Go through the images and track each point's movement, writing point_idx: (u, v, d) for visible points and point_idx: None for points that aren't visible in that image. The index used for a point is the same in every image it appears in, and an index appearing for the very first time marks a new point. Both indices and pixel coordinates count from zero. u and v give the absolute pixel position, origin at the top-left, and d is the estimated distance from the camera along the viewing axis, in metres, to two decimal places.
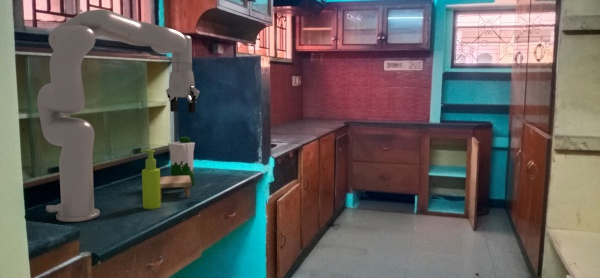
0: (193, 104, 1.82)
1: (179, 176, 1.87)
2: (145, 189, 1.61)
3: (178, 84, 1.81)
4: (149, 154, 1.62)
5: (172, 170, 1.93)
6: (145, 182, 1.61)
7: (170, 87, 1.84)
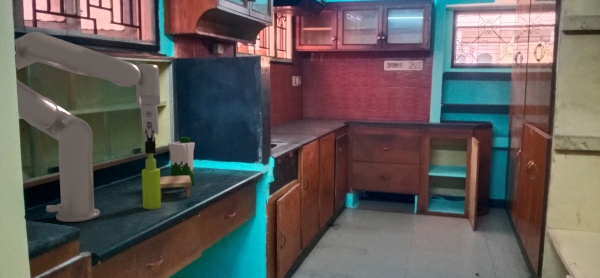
0: None
1: (179, 176, 1.87)
2: (145, 189, 1.61)
3: None
4: (149, 154, 1.62)
5: (172, 170, 1.93)
6: (145, 182, 1.61)
7: (157, 124, 1.59)
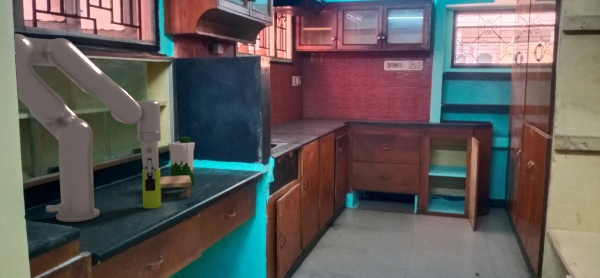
0: None
1: (179, 176, 1.87)
2: None
3: None
4: None
5: (172, 170, 1.93)
6: None
7: (157, 160, 1.60)
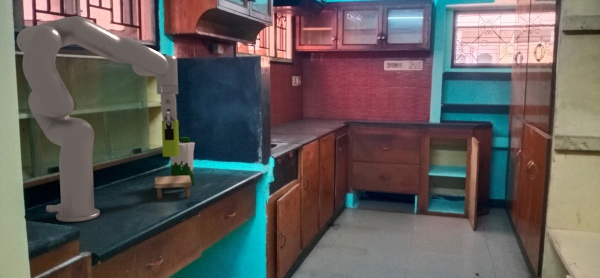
0: None
1: (179, 176, 1.87)
2: None
3: None
4: None
5: (172, 170, 1.93)
6: None
7: None
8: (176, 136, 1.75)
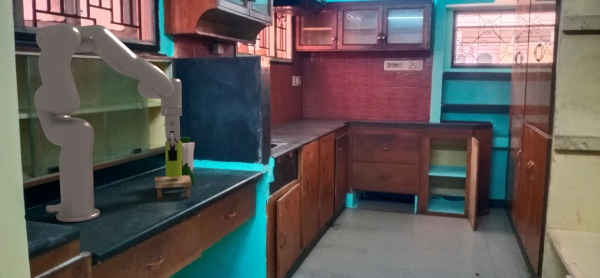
0: None
1: None
2: None
3: None
4: None
5: None
6: None
7: (179, 132, 1.76)
8: (179, 157, 1.79)
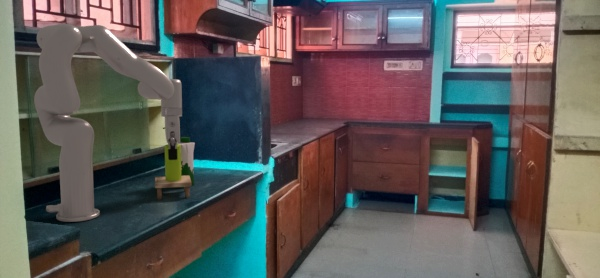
0: None
1: None
2: (168, 163, 1.77)
3: None
4: None
5: None
6: (167, 157, 1.77)
7: (179, 133, 1.76)
8: (179, 161, 1.79)
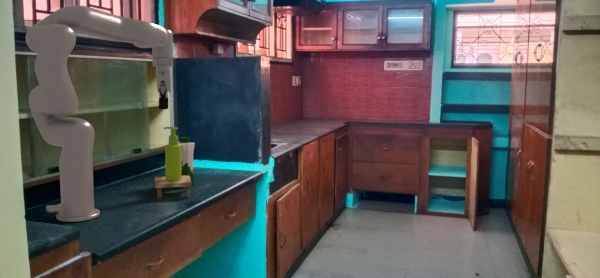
0: None
1: None
2: (168, 163, 1.77)
3: None
4: (172, 131, 1.78)
5: None
6: (168, 156, 1.77)
7: (170, 83, 1.77)
8: (179, 161, 1.79)
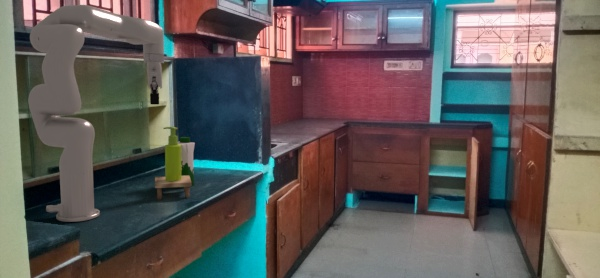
0: None
1: None
2: (168, 163, 1.77)
3: None
4: (172, 131, 1.78)
5: None
6: (168, 157, 1.77)
7: (161, 79, 1.81)
8: (179, 161, 1.79)
